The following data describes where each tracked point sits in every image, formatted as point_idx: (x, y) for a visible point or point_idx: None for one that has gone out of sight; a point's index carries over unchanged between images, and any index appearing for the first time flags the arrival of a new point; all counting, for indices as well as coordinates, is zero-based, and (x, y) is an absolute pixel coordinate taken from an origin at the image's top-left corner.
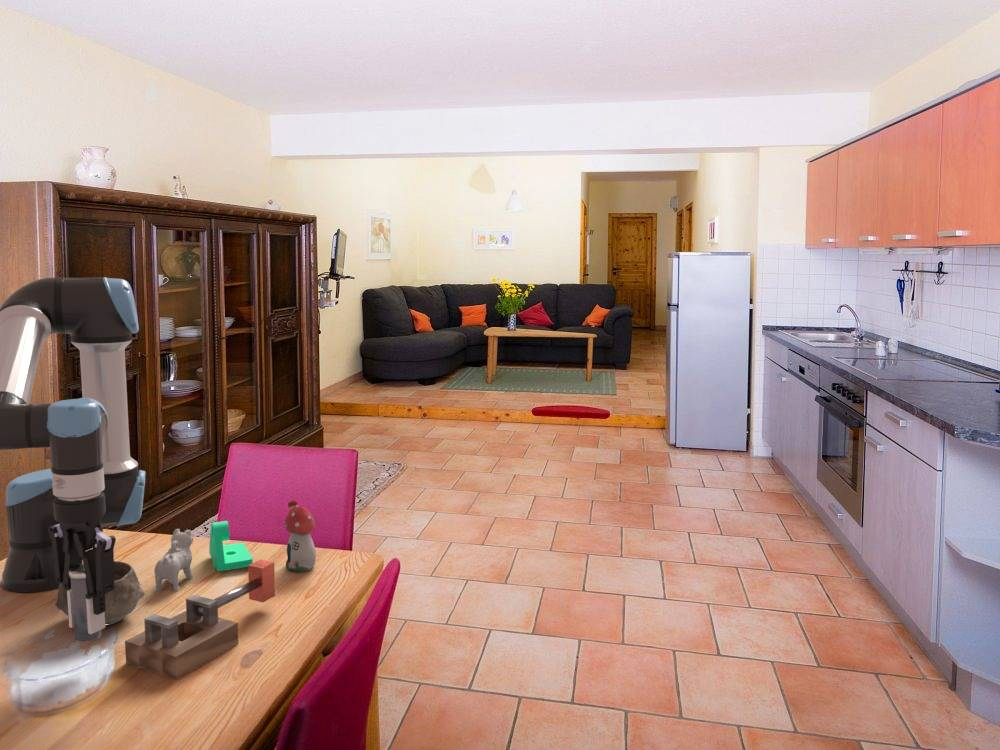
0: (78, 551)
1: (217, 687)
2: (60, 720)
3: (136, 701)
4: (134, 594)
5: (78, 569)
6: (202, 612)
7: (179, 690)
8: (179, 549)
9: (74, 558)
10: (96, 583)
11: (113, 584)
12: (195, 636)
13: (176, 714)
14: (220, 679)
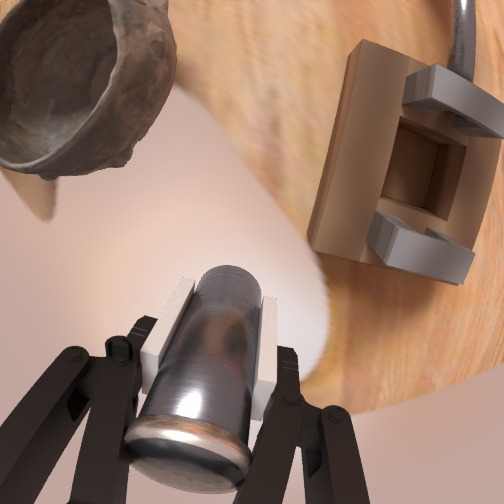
0: None
1: (494, 270)
2: (314, 394)
3: (399, 336)
4: (169, 37)
5: (165, 470)
6: (464, 118)
7: (449, 293)
8: None
9: (122, 497)
10: (304, 476)
11: (351, 432)
12: (463, 191)
13: (460, 343)
14: (494, 247)
